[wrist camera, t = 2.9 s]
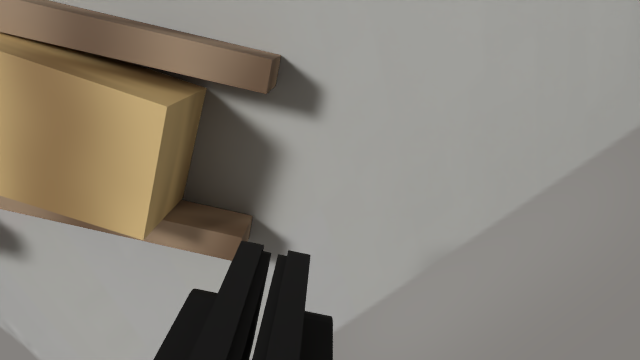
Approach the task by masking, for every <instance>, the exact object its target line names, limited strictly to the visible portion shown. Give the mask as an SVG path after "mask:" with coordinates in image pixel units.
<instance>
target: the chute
mask: <svg viewBox="0 0 640 360" xmlns="http://www.w3.org/2000/svg"><path fill="white" fill-rule="evenodd" d="M0 32H3V33H7V34H11V35H16V36H20V37H24V38H28V39H33V40H37V41H41V42H46V43H50V44H54V45H58V46H63V47H67V48H71V49H76V50H80V51H84V52H88V53H93V54H97V55H101V56H106V57H110V58H114V59H118V60H123V61H127V62H131V63H136V64H140V65H144V66H148V67H153V68H157V69H161V70H166V71H170V72H174V73H178V74H183V75H187V76H191V77H196V78H200V79H204V80H208V81H213V82H217V83H221V84H225V85H230V86H234V87H238V88H243V89H247V90H251V91H255V92H260V93H264V94H267V93H268V92H269V91H270V90H271V89H273V88H274V87H275V86H276V81H277V76H278V70H279V64H280V59H281V55H278V54H273V53H269V52H265V51H261V50H257V49H252V48H248V47H244V46H240V45H235V44H231V43H227V42H223V41H218V40H214V39H210V38H206V37H201V36H197V35H193V34H189V33H184V32H180V31H176V30H172V29H167V28H163V27H159V26H155V25H150V24H146V23H142V22H138V21H133V20H129V19H125V18H121V17H117V16H112V15H108V14H104V13H100V12H95V11H91V10H87V9H83V8H78V7H74V6H70V5H66V4H61V3H57V2H53V1H49V0H0ZM0 209H3V210H8V211H12V212H17V213H21V214H26V215H30V216H35V217H39V218H43V219H48V220H52V221H57V222H61V223H66V224H70V225H75V226H79V227H84V228H88V229H93V230H97V231H101V232H106V233H110V234H115V235H119V236H124V237H128V238H133V239H137V238H134V237H131V236H128V235H125V234H121V233H118V232H115V231H112V230H109V229H105V228H102V227H99V226H96V225H93V224H89V223H86V222H83V221H80V220H77V219H73V218H70V217H67V216H64V215H61V214H57V213H54V212H51V211H48V210H45V209H41V208H38V207H35V206H32V205H29V204H25V203H22V202H19V201H16V200H13V199H9V198H6V197H3V196H0ZM252 217H253V216H251V215H246V214H242V213H237V212H233V211H228V210H224V209H220V208H215V207H211V206H206V205H202V204H198V203H193V202H189V201H184V200H180V202H179V203H178V204H177V205H176V206H175V207H174V208H173V209H172V210H171V211H170V212H169V213H168V214H167V215H166V216H165V218H164V219H163V220H162V221H161V222H160V223H159V224H158V225H157V226H156V227H155V228H154V229H153V230H152V231H151V232H150V234H149V235H148V236H147V237H146V238H145V239H144V240H142V241H146V242H151V243H155V244H159V245H164V246H168V247H173V248H177V249H182V250H186V251H191V252H195V253H200V254H204V255H209V256H213V257H217V258H222V259H226V260H231V261H232V260H233V258H234V256H235V253H236V251H237V249H238V247H239V244H240V242H241V241H248V239H249V234H250V229H251V223H252ZM137 240H141V239H137Z"/></svg>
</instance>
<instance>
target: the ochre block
mask: <svg viewBox="0 0 640 360" xmlns="http://www.w3.org/2000/svg"><path fill="white" fill-rule="evenodd" d="M206 89H207V88H205V87H202V86H199V85H196V84H193V83H190V82H187V81H184V80H181V79H178V78H175V77H172V76H169V75H166V74H163V73H160V72H157V71H154V70H151V69H148V68H145V67H142V66H139V65H136V64H134V63H131V62H127V61H123V60H118V59H114V58H110V57H106V56H101V55H97V54H93V53H88V52H84V51H80V50H76V49H71V48H67V47H63V46H58V45H54V44H50V43H46V42H41V41H37V40H33V39H28V38H24V37H20V36H16V35H11V34H7V33H3V32H0V196H3V197H6V198H9V199H13V200H16V201H19V202H22V203H25V204H29V205H32V206H35V207H38V208H41V209H45V210H48V211H51V212H54V213H57V214H61V215H64V216H67V217H70V218H73V219H77V220H80V221H83V222H86V223H89V224H93V225H96V226H99V227H102V228H105V229H109V230H112V231H115V232H118V233H121V234H125V235H128V236H131V237H134V238H137V239H141V240H144V239H145V238H146V237H147V236H148V235H149V234H150V232H151V231H152V230H153V229H154V228H155V227H156V226H157V225H158V224H159V223H160V222H161V221H162V220H163V219H164V218H165V216H166V215H167V214H168V213H169V212H170V211H171V210H172V209H173V208H174V207H175V206H176V205H177V204H178V203H179V202H180V200H181V199H182V198H183V195H184V190H185V186H186V181H187V177H188V172H189V167H190V163H191V158H192V153H193V149H194V144H195V139H196V135H197V130H198V126H199V121H200V116H201V112H202V107H203V102H204V98H205V93H206Z"/></svg>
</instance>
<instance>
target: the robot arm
mask: <svg viewBox="0 0 640 360" xmlns="http://www.w3.org/2000/svg"><path fill="white" fill-rule="evenodd" d="M263 249H264V245H261V244H256V243H251V242H247V241H241V242H240V244H239V247H238V249H237V251H236V253H235V256H234V258H233V260H232V263H231V265H230V267H229V269H228V272H227V274H226V276H225V278H224V281H223V283H222V285H221V288H220V290H219V292H218V293H214V292H209V291H204V290H199V289H193V290H192V291H191V292H190V294H189V296H188V298H187V299H186V301H185V303H184V305H183V307H182V309H181V310H180V312H179V314H178V316H177V318H176V320H175V321H174V323H173V325H172V327H171V329H170V331H169V332H168V334H167V336H166V338H165V340H164V341H163V343H162V345H161V347H160V349H159V351H158V352H157V354H156V356H155V358H154V360H249V357H250V353H251V349H252V345H253V340H254V335H255V330H256V326H257V321H258V316H259V311H260V306H261V301H262V296H263V291H264V287H265V282H266V277H267V272H268V267H269V262H270V257H271V253H269V252H264V251H263ZM309 264H310V255H308V254H304V253H299V252H294V251H289V250H288V254H287V256H284V255H279V254H278V258H277V262H276V266H275V270H274V274H273V278H272V282H271V286H270V290H269V294H268V298H267V302H266V306H265V310H264V314H263V318H262V322H261V326H260V330H259V334H258V338H257V342H256V346H255V350H254V355H253V359H252V360H333V320H332V316H327V315H322V314H317V313H312V312H307V311H305V302H306V292H307V283H308V273H309Z"/></svg>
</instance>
